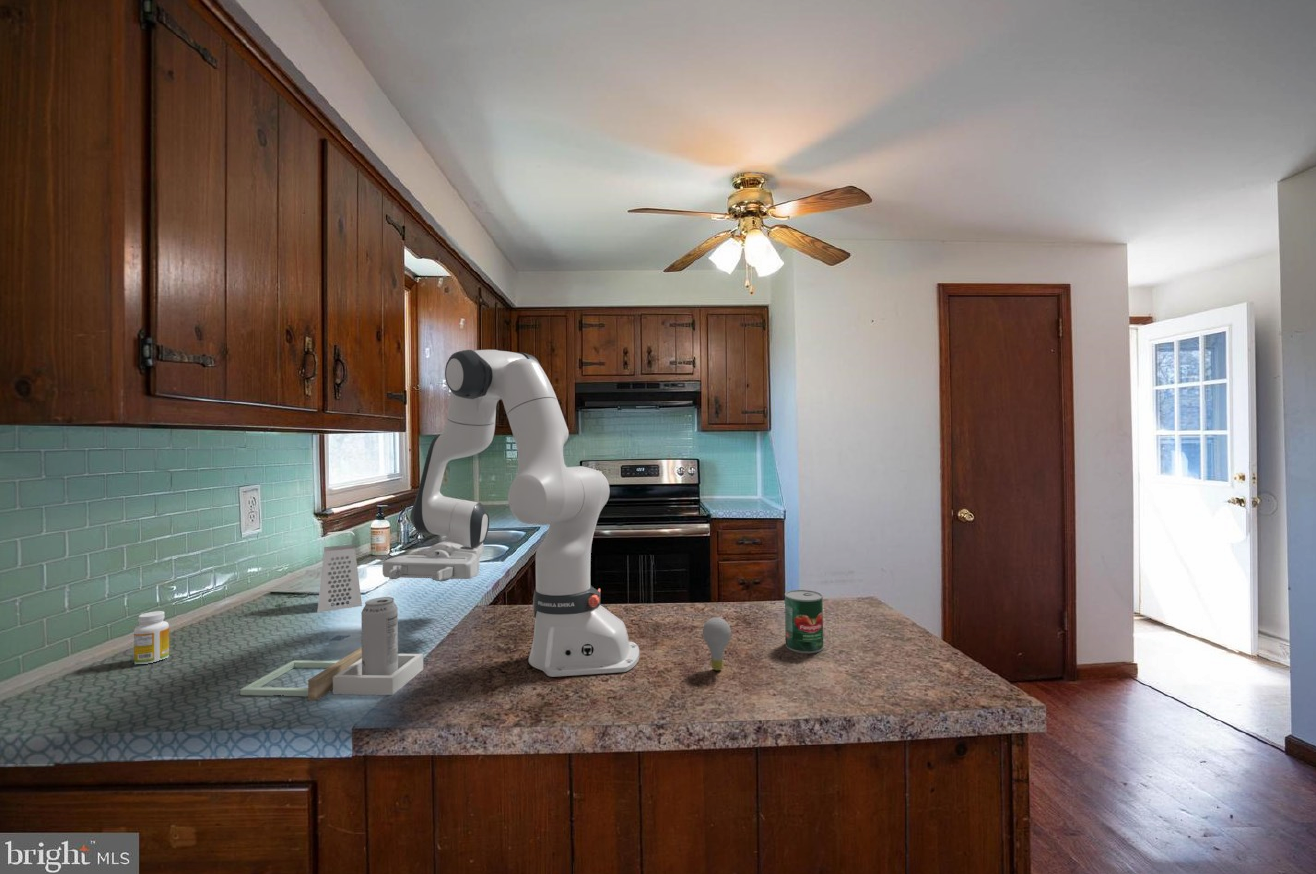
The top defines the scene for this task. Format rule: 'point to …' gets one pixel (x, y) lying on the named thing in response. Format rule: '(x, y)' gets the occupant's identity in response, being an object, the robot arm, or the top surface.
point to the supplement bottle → (151, 638)
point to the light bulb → (716, 639)
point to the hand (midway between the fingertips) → (413, 576)
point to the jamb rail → (330, 676)
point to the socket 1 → (270, 691)
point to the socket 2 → (377, 677)
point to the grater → (339, 577)
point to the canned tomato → (804, 621)
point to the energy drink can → (379, 637)
